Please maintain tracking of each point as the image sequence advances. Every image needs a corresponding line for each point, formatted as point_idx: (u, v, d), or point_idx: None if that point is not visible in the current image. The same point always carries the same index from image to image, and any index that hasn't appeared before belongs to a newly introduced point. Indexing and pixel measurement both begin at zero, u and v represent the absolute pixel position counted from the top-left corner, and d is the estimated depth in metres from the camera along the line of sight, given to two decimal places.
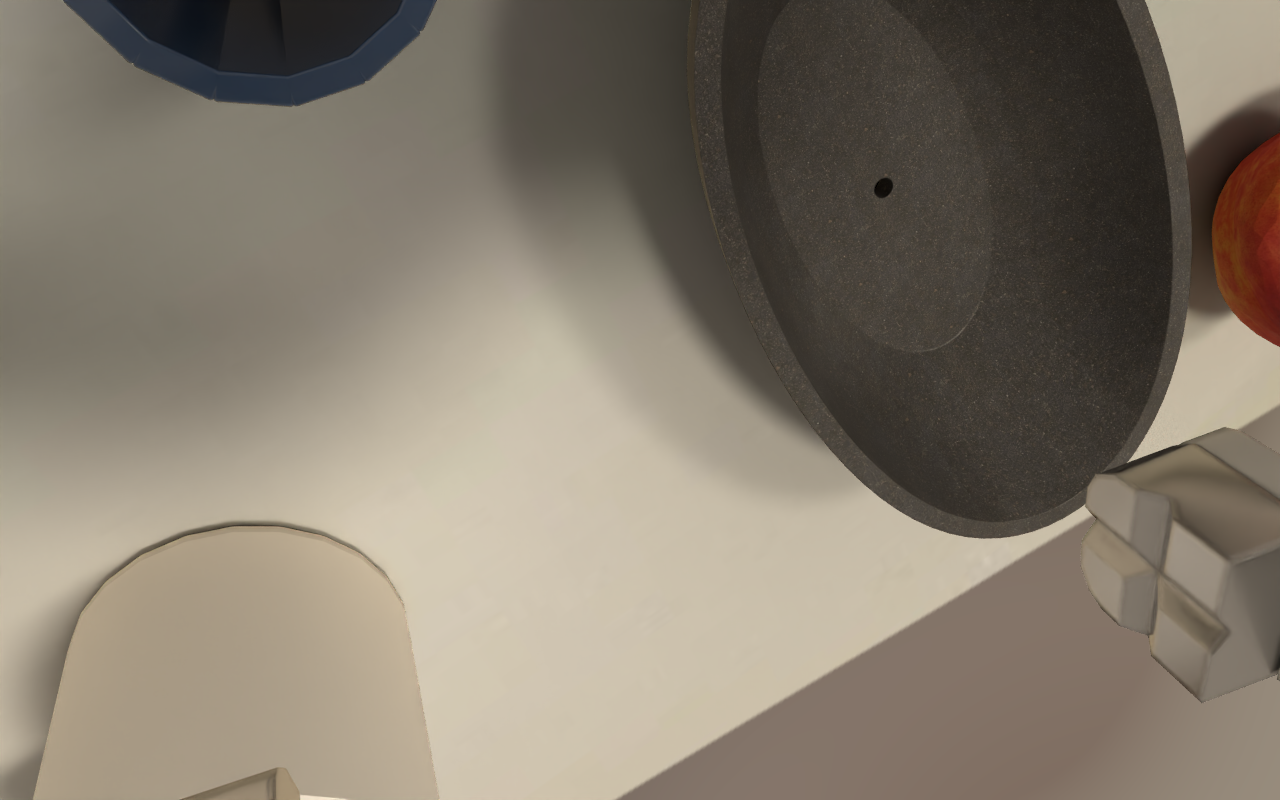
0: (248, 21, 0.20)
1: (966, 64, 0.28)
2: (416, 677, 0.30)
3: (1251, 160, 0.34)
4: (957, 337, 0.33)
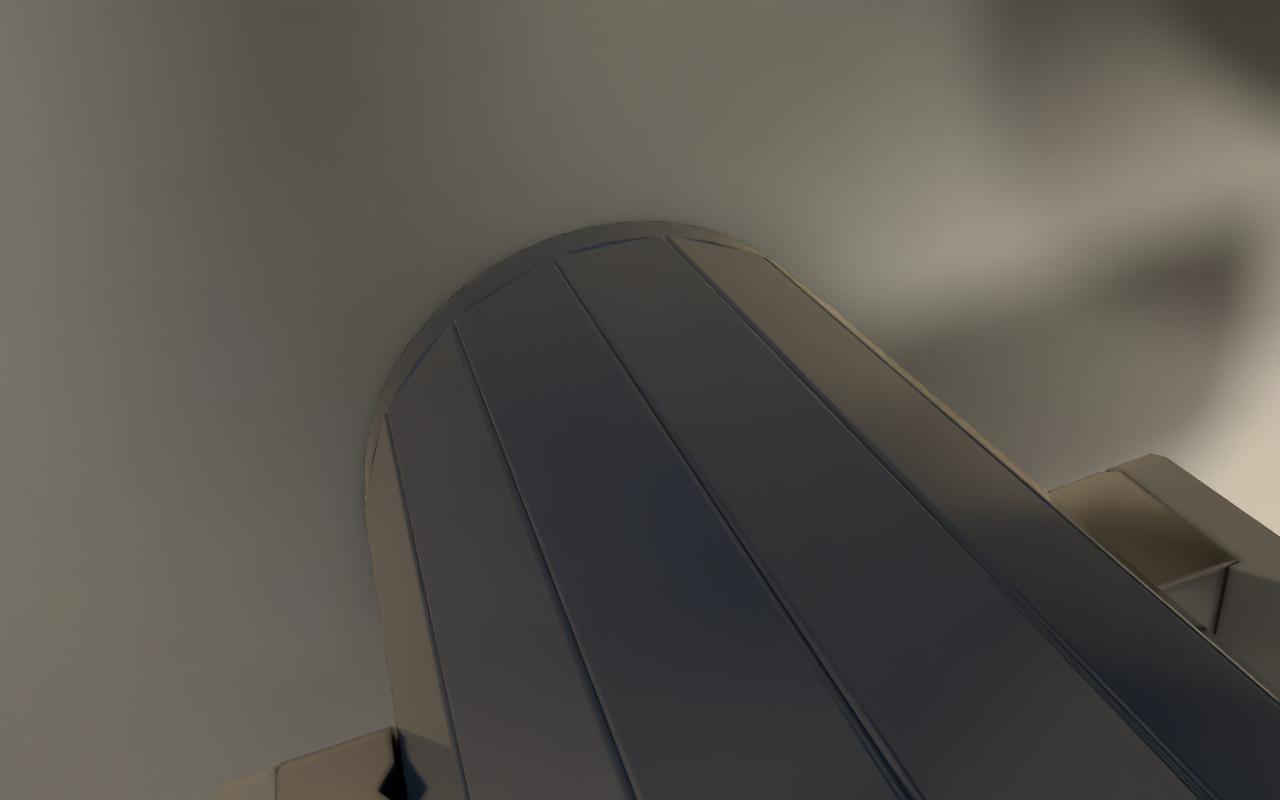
0: None
1: None
2: None
3: None
4: None
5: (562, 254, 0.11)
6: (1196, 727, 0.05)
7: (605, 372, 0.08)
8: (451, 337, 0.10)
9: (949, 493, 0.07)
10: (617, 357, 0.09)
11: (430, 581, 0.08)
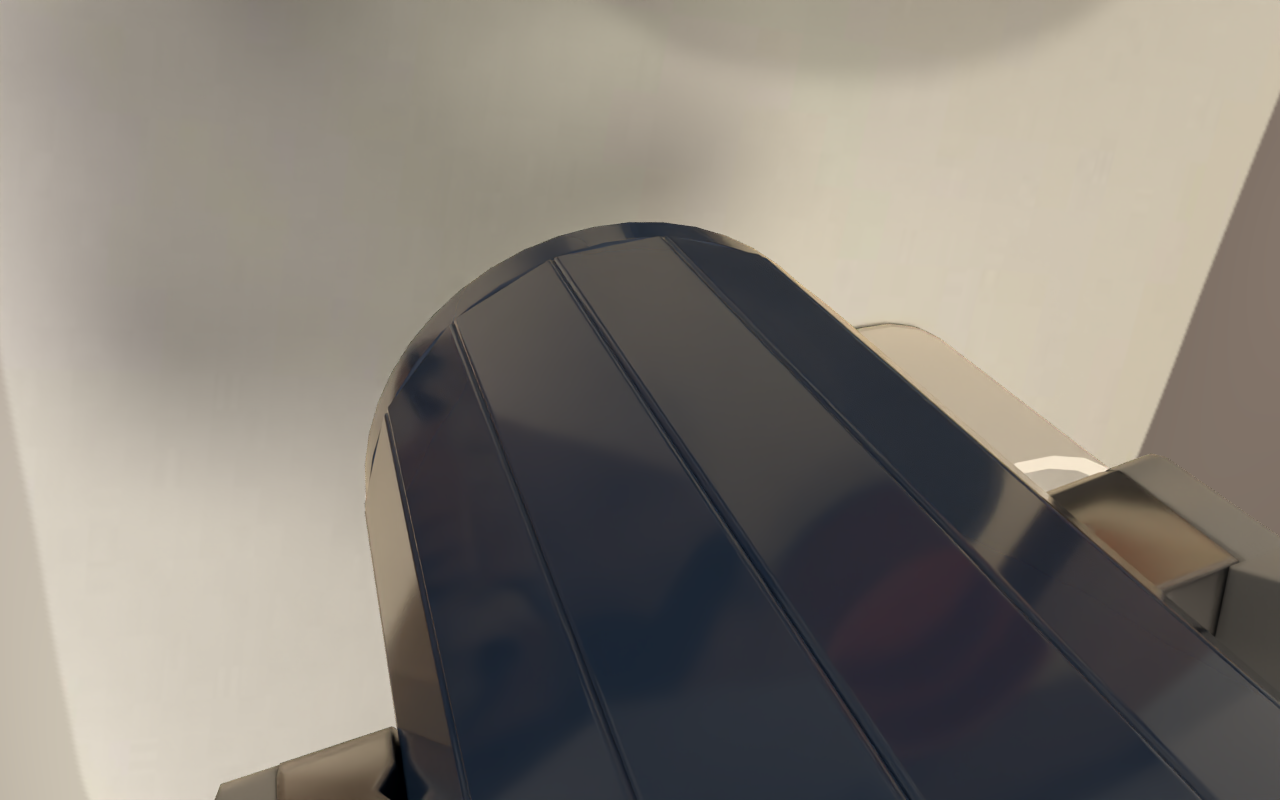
0: None
1: None
2: (965, 365, 0.37)
3: None
4: None
5: (561, 254, 0.11)
6: (1193, 725, 0.05)
7: (605, 372, 0.09)
8: (451, 337, 0.10)
9: (947, 493, 0.07)
10: (617, 357, 0.09)
11: (430, 581, 0.08)
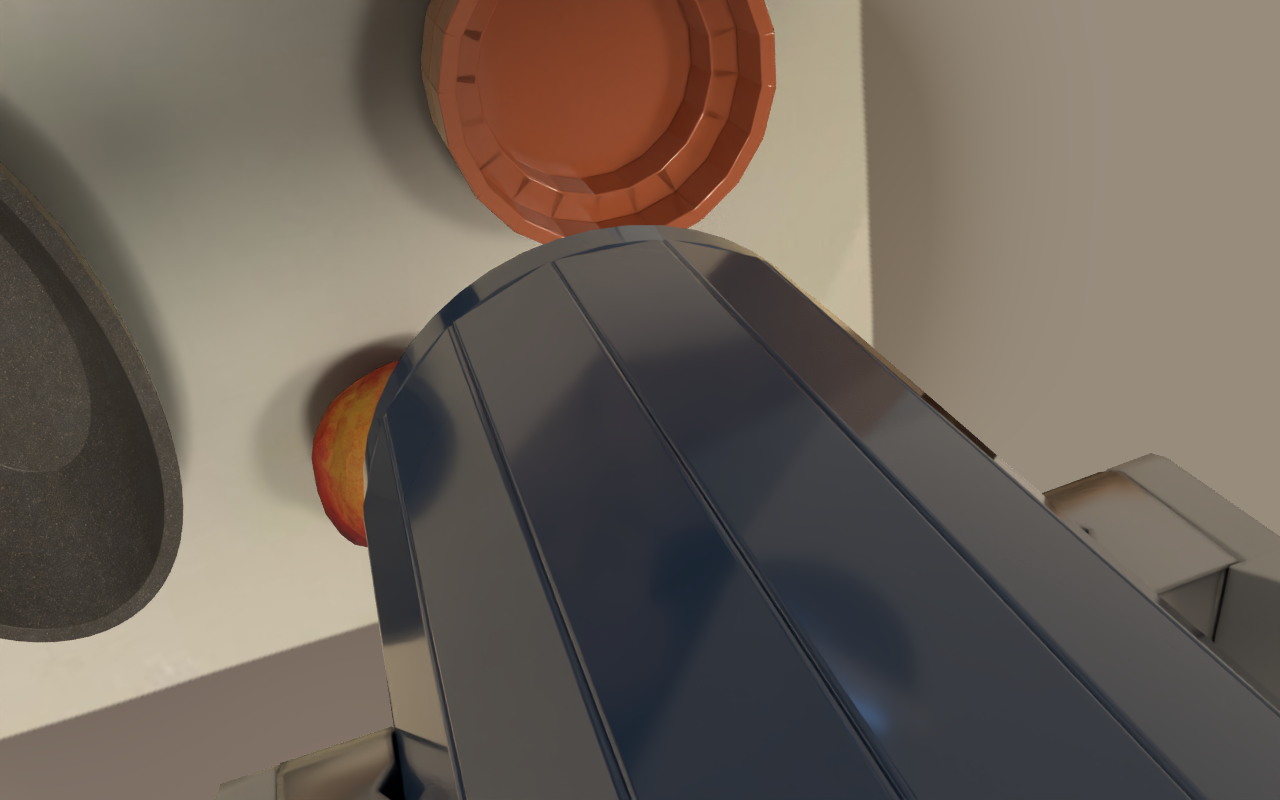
0: None
1: (27, 251, 0.35)
2: None
3: None
4: (63, 467, 0.39)
5: (561, 258, 0.11)
6: (1191, 733, 0.05)
7: (603, 376, 0.08)
8: (449, 340, 0.10)
9: (946, 498, 0.07)
10: (615, 361, 0.09)
11: (428, 585, 0.08)
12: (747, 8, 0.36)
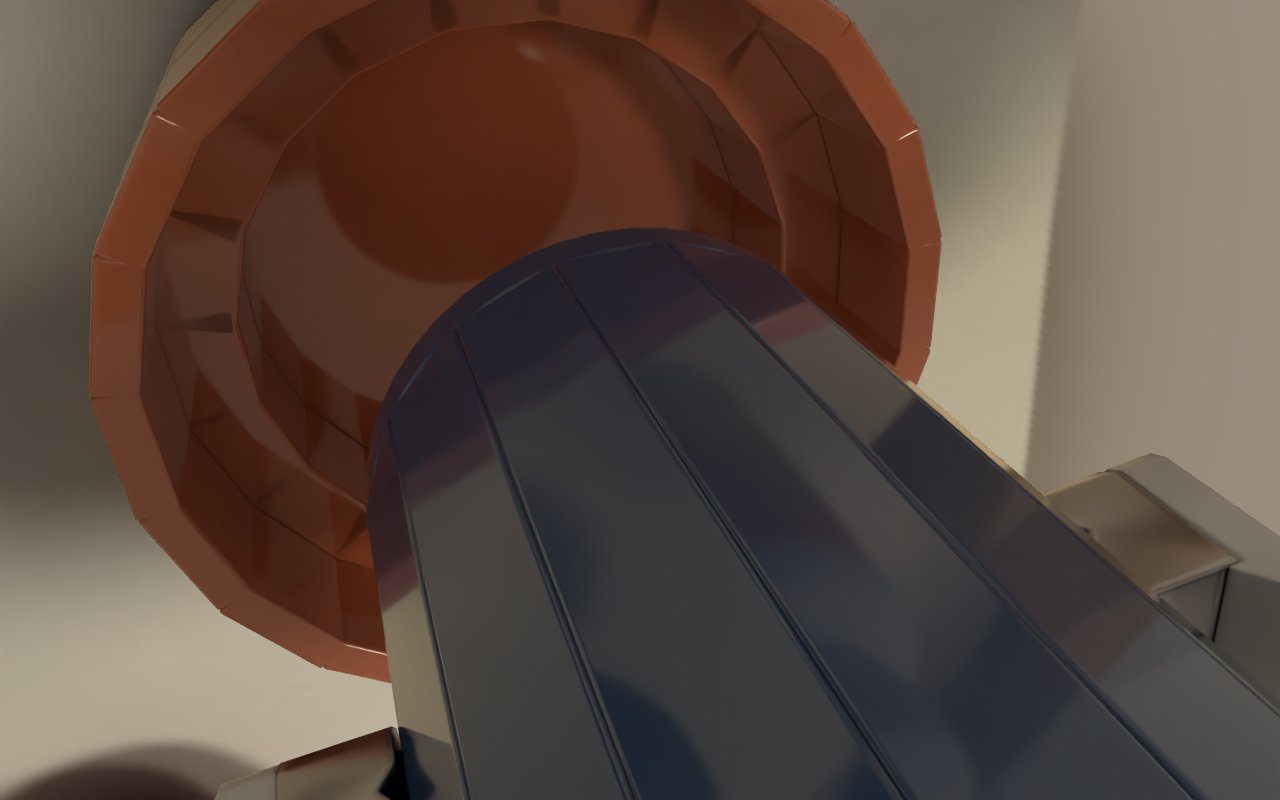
0: None
1: None
2: None
3: None
4: None
5: (563, 260, 0.11)
6: (1195, 737, 0.05)
7: (607, 379, 0.09)
8: (453, 343, 0.10)
9: (949, 502, 0.07)
10: (619, 364, 0.09)
11: (432, 588, 0.08)
12: (887, 189, 0.15)
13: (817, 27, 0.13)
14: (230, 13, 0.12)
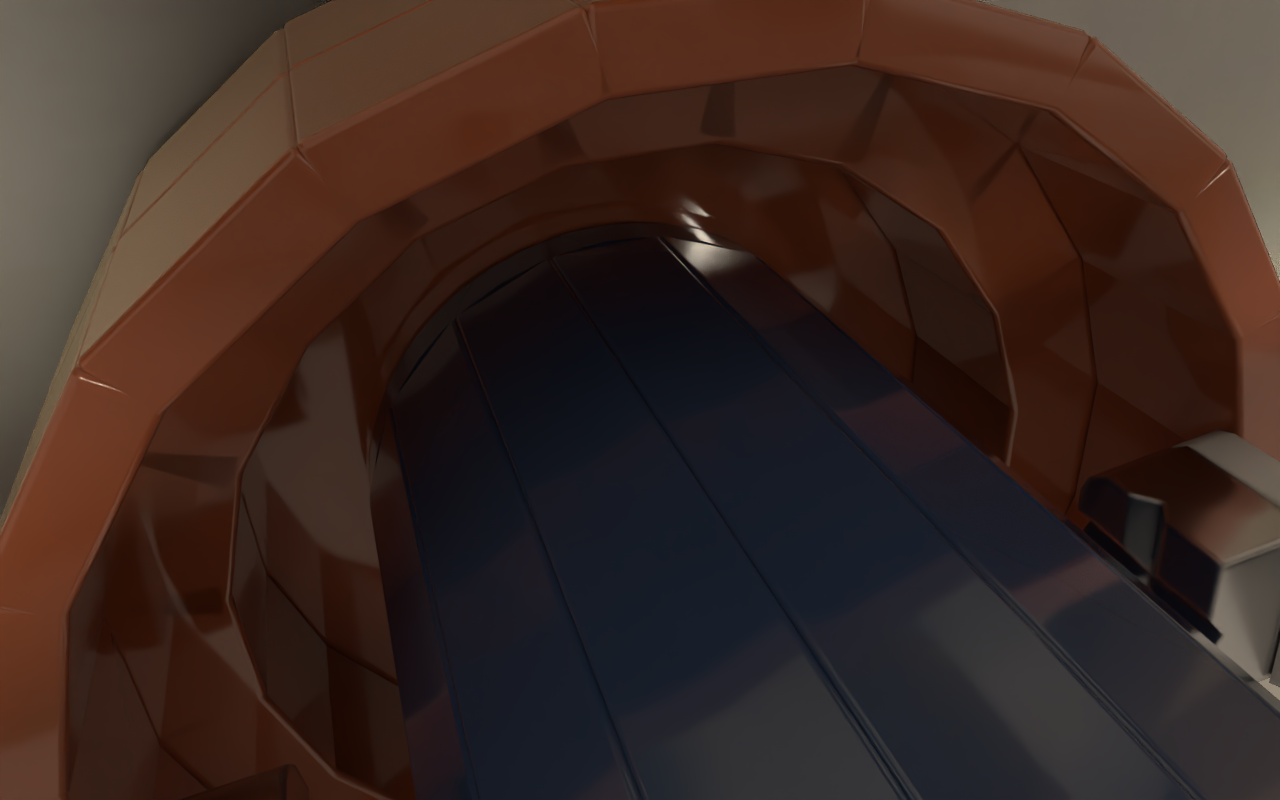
0: None
1: None
2: None
3: None
4: None
5: (560, 253, 0.11)
6: (1149, 691, 0.05)
7: (601, 366, 0.09)
8: (453, 334, 0.11)
9: (926, 478, 0.07)
10: (612, 352, 0.09)
11: (434, 566, 0.09)
12: (1221, 391, 0.10)
13: (1179, 171, 0.08)
14: (216, 167, 0.07)
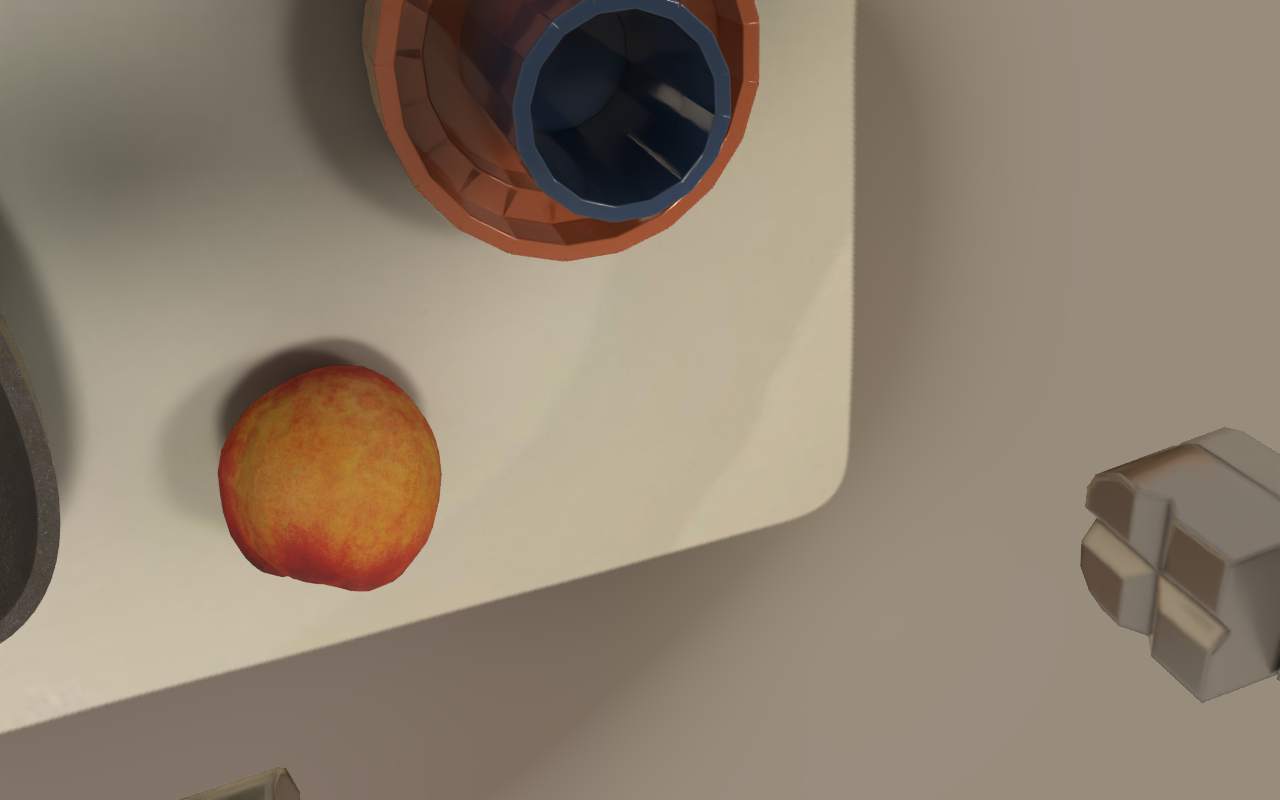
0: (636, 126, 0.33)
1: None
2: None
3: None
4: None
5: None
6: None
7: None
8: None
9: None
10: None
11: (488, 23, 0.31)
12: None
13: None
14: None
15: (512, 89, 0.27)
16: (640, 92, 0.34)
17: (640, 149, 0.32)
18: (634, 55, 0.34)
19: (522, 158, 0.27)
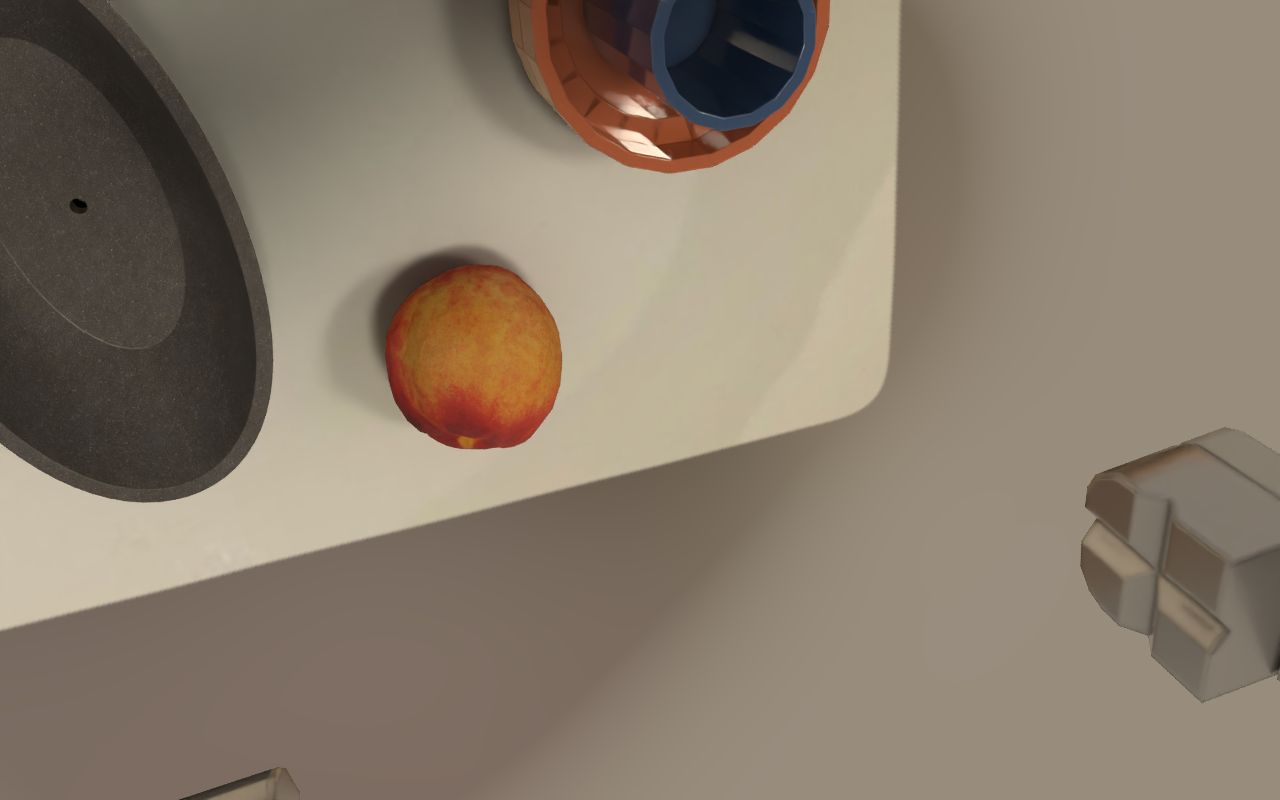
0: (729, 61, 0.41)
1: (145, 135, 0.38)
2: None
3: None
4: (154, 346, 0.42)
5: None
6: None
7: None
8: None
9: None
10: None
11: None
12: None
13: None
14: None
15: (650, 22, 0.35)
16: (731, 34, 0.42)
17: (735, 78, 0.40)
18: (725, 4, 0.42)
19: (655, 77, 0.35)
